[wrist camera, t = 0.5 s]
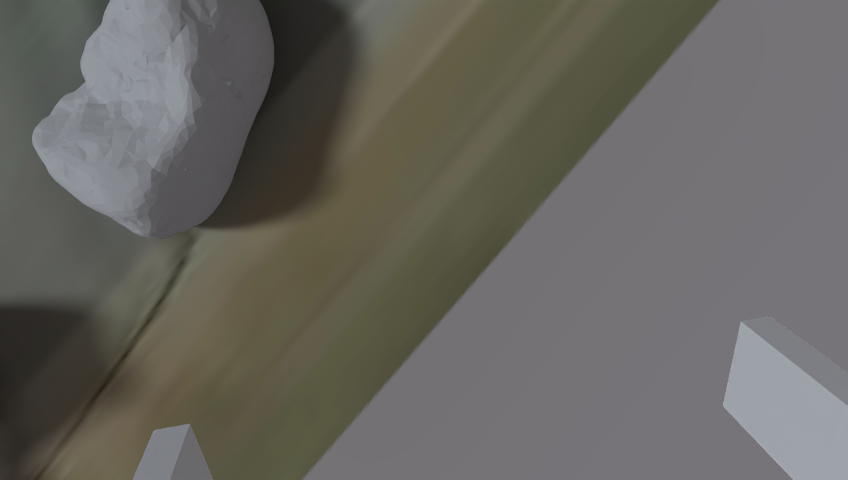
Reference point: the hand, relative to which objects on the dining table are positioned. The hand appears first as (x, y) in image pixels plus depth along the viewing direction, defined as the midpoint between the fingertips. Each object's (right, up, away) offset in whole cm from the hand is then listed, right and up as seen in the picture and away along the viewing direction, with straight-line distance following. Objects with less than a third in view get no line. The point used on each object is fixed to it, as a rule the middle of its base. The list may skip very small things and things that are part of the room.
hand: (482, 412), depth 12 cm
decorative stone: (-18, +14, +21) cm, 31 cm away
